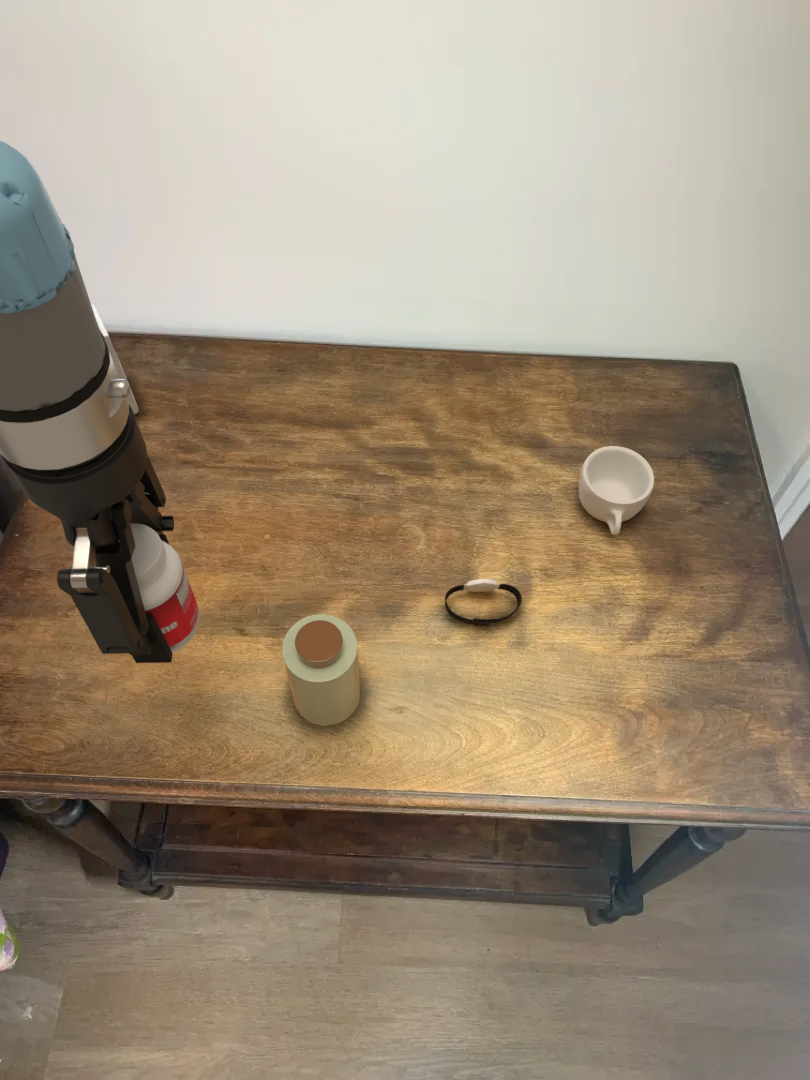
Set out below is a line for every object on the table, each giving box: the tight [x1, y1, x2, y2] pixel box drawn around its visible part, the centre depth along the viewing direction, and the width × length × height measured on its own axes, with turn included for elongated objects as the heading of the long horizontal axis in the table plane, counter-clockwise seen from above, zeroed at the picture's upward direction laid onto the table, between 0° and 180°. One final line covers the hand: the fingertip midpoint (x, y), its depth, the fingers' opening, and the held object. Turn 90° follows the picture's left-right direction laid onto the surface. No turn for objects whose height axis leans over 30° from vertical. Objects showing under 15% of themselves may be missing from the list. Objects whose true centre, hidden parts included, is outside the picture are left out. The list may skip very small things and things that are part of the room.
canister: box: [281, 613, 361, 727], centre depth 73 cm, size 6×6×11 cm
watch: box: [444, 578, 523, 627], centre depth 81 cm, size 8×5×4 cm, turn 93°
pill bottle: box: [130, 523, 201, 654], centre depth 61 cm, size 6×6×11 cm
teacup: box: [578, 445, 655, 536], centre depth 88 cm, size 10×8×5 cm
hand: (160, 619), depth 65 cm, fingers closed on pill bottle, 6 cm apart
